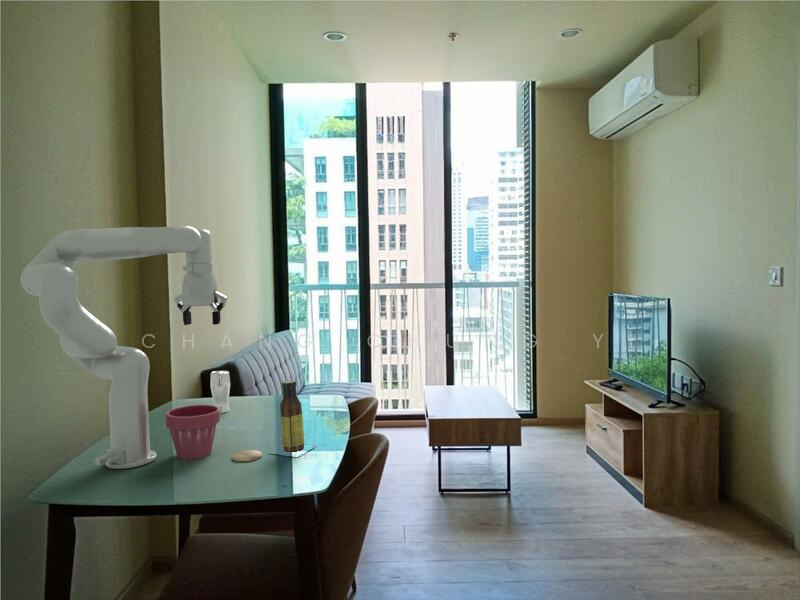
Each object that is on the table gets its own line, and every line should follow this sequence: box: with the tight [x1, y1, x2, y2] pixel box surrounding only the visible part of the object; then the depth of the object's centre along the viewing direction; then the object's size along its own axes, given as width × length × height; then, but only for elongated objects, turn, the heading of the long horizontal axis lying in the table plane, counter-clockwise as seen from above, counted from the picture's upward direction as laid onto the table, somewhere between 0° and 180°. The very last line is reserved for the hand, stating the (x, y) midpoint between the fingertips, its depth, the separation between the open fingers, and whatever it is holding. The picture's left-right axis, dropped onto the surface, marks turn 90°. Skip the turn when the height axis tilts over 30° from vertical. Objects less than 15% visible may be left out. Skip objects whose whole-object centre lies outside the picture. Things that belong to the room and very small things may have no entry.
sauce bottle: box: [279, 379, 305, 452], centre depth 150 cm, size 6×6×20 cm
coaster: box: [231, 449, 263, 462], centre depth 146 cm, size 8×8×1 cm
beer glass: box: [210, 370, 231, 414], centre depth 196 cm, size 7×7×15 cm
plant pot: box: [165, 404, 221, 461], centre depth 149 cm, size 14×14×13 cm
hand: (201, 324), depth 163 cm, fingers open, 9 cm apart
